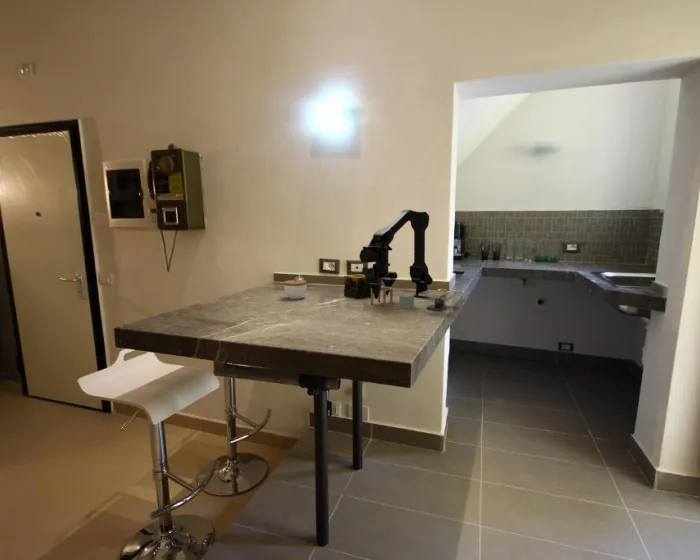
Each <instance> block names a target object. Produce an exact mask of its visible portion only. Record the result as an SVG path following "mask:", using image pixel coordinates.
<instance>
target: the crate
mask: <svg viewBox="0 0 700 560" xmlns="http://www.w3.org/2000/svg"><path fill="white" fill-rule="evenodd" d="M387 290H390V292H389V304H393V301H394V300H393V299H394V294H393V293H394V291H393V290H394V288H393V286H392V287H385V286H383V285H381V289H380V293H379V296H378V299H377V302H378V303H380V302H381V292H383V293H382V294H383V298H382V306H383V307H386V306H387V305H386V304H387V295H386V291H387ZM373 304H374V294H373V291H372V288H371V296H370V305H373Z"/></svg>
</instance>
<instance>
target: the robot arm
mask: <svg viewBox="0 0 700 560" xmlns="http://www.w3.org/2000/svg"><path fill="white" fill-rule="evenodd" d="M408 222H410V226H411V228H412V231H413V263H412V265H410V266H409V275H410V276H409V277H410V279H411V282H412V283H413V284H415V294H413V295H414V297H416V298H417V297H418V298H427V296H418V294H419V293H421V292H424V291H426V290H427V291H429V286H430V285H432V284H433V282H434V279H433V278H432V276H431V275H430V274H429V268H428V265H427V263H426V230H427V229H428V227H429V223H430V214H429V213H427V211H416V210H412V209H404V210H401V212H400V213H399V214H398V215H397V216H396V217H395V218H394V219H393V220H392V221H391V222H390V223H388V225H386V226H385V227H383V228H380V229H379V230H377V231H376V232H374V233H373V235H372V238H371V240H370V242H369V243H368V246H362V249H361V251H360V252H359V260H360V262H361V263H364V264H368V263H373V264H372V267H368V266H364V267H361V268H362V269H361V275H364V276H365V277H366V278H365V283H367V284H368V285H370V286H371V288H372V291H373V298H374V299H375V300H376V299H377V300H378V296H379V293H380V294H381V291H380V289H381V286H383V285H384V286H385V287H393V285H394V284H395V282H396V280H397V279H398V273H397V272H396V271H389V267H390V266H391V263H389V254H390V253H389V251H392V250H393V248H392V247H391V246H390V245H391V243H392V241H393V240H394V238H395V235H396V234H397V233H398V231H400V229H402V228H403V227H404V226H405V225H406V224H407V223H408ZM382 282H383V283H382ZM389 295H390V290H387V291H386V296H389Z"/></svg>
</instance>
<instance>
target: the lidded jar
mask: <svg viewBox="0 0 700 560" xmlns="http://www.w3.org/2000/svg"><path fill="white" fill-rule="evenodd" d="M283 285H284V286H283V288H284V293H285V294H286V296H287V297H288V299H289V300H290V299H291V300H300V299H302V298H303V297H304V296H305V294H306V292H307V285H308V283H307V280H304V279H297V277H294V278H293V279H291V280H286V281H283Z"/></svg>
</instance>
